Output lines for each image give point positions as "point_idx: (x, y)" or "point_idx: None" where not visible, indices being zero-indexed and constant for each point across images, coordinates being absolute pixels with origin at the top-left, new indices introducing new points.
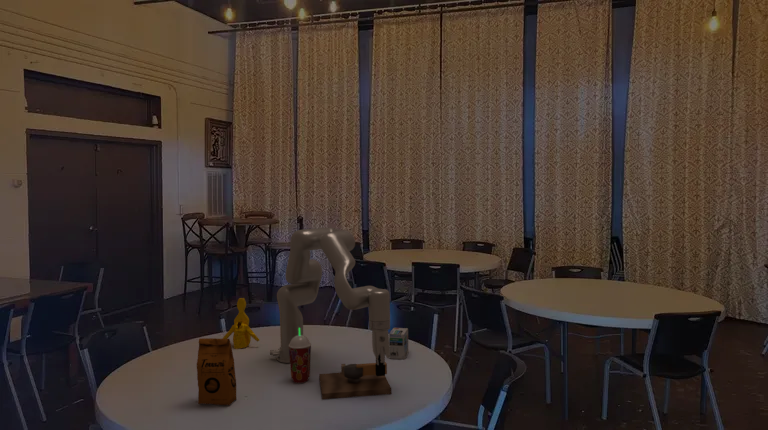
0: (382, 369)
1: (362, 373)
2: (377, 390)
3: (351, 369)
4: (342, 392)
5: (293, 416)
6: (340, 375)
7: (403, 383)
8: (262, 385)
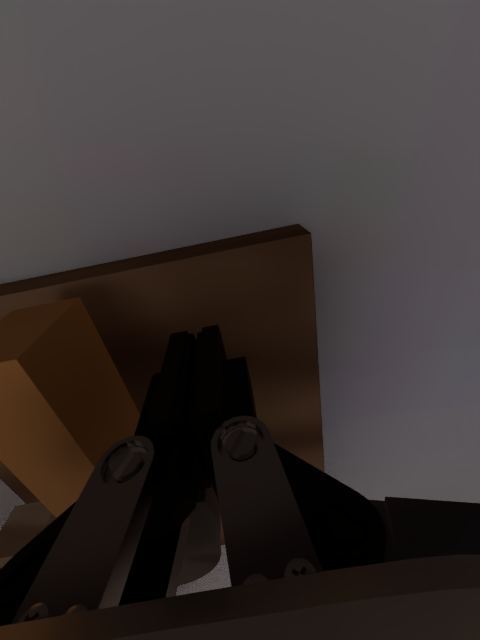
0: (250, 392)
1: None
2: (315, 329)
3: (203, 559)
4: None
5: None
6: None
7: (39, 103)
8: None
